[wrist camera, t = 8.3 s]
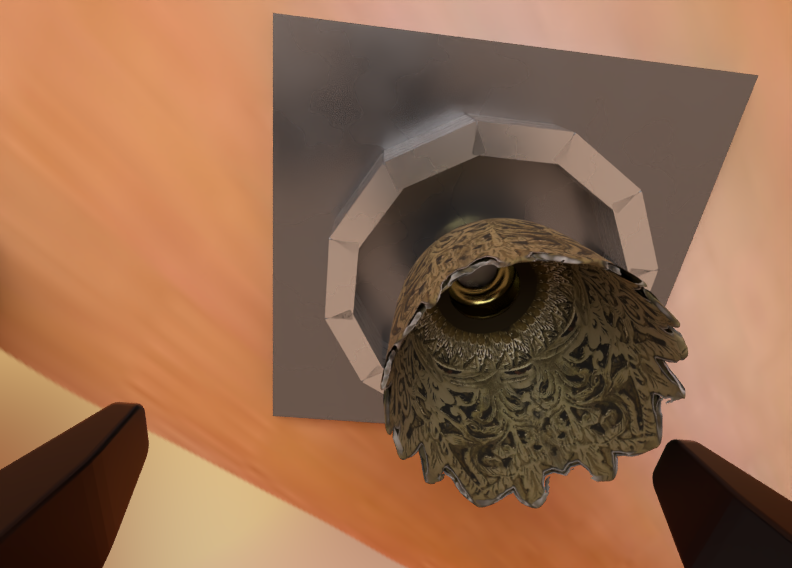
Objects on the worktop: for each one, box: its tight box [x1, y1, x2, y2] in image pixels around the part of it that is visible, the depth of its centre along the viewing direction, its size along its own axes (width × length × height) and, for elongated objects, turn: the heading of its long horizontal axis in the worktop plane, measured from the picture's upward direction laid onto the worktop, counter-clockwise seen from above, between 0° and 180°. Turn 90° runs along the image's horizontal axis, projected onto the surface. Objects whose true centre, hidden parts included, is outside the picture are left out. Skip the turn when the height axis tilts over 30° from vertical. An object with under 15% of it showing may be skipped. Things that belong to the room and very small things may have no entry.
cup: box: [380, 218, 688, 508], centre depth 15 cm, size 8×7×8 cm
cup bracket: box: [273, 13, 758, 423], centre depth 18 cm, size 16×16×3 cm
